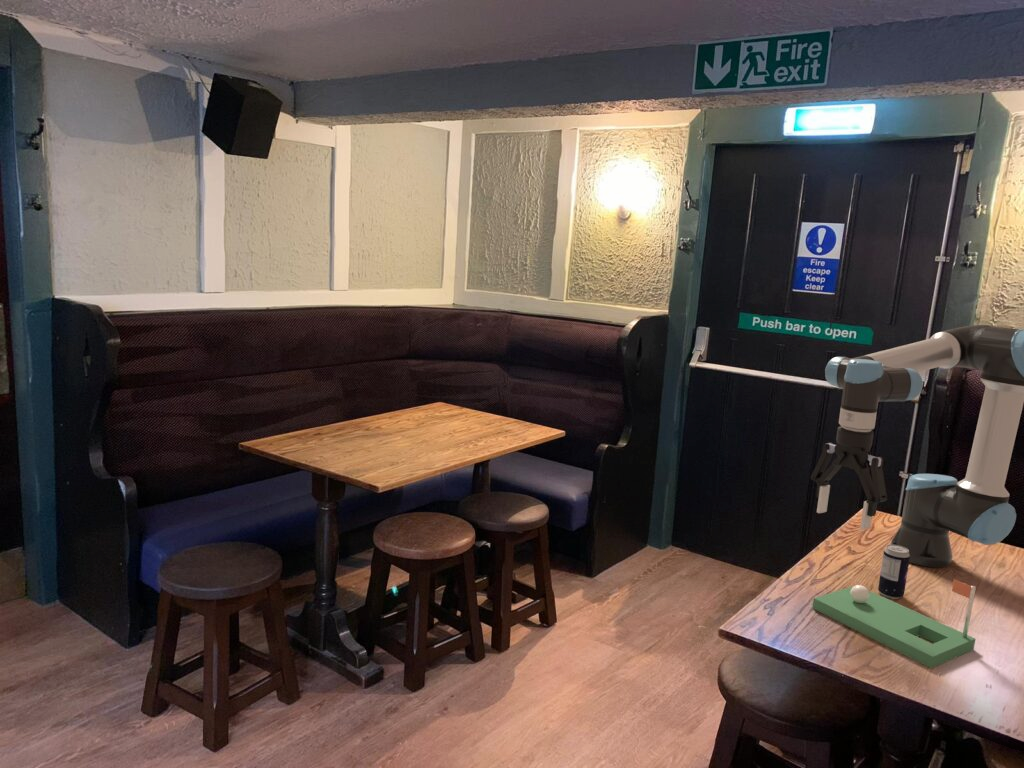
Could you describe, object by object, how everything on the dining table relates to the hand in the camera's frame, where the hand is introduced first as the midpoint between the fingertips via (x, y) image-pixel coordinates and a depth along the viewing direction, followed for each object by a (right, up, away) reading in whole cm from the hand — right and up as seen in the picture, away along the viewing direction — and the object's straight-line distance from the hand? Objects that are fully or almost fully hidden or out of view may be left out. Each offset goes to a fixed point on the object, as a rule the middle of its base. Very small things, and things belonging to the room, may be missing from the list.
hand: (842, 520), depth 180 cm
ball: (+3, -18, -2) cm, 19 cm away
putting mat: (+7, -22, -9) cm, 25 cm away
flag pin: (+18, -24, -14) cm, 33 cm away
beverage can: (+15, -20, +8) cm, 26 cm away
